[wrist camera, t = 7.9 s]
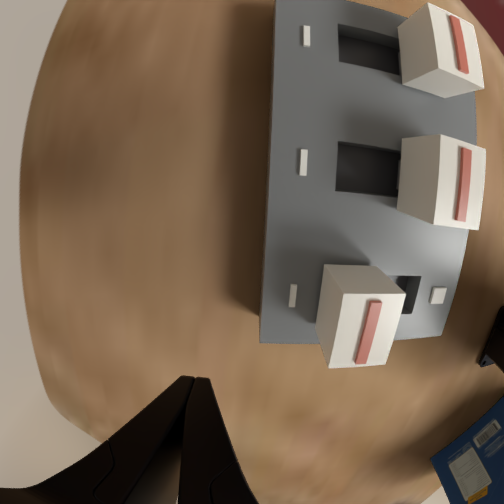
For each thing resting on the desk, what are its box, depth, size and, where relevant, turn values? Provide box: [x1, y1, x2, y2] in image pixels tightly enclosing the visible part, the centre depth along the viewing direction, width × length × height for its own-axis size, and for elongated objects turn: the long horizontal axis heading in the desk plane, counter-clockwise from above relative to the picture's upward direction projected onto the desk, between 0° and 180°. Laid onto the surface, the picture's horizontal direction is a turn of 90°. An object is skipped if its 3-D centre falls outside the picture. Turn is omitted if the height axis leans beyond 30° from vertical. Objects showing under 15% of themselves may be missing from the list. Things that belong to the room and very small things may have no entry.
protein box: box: [430, 396, 504, 504], centre depth 17 cm, size 10×15×16 cm
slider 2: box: [397, 2, 484, 98], centre depth 10 cm, size 3×4×5 cm
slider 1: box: [315, 264, 406, 368], centre depth 13 cm, size 3×4×5 cm
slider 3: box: [396, 134, 486, 230], centre depth 11 cm, size 3×4×5 cm
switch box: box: [259, 0, 477, 344], centre depth 14 cm, size 12×19×4 cm, turn 178°
